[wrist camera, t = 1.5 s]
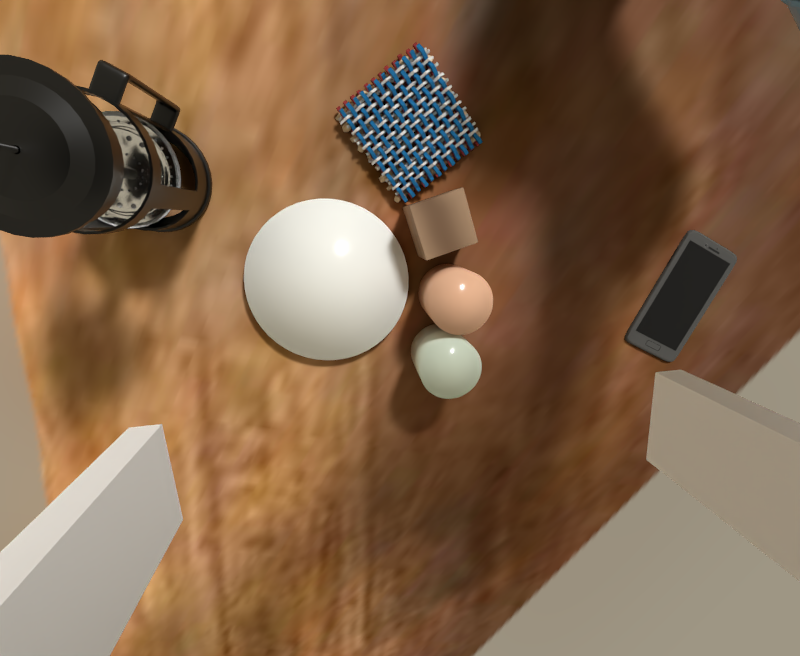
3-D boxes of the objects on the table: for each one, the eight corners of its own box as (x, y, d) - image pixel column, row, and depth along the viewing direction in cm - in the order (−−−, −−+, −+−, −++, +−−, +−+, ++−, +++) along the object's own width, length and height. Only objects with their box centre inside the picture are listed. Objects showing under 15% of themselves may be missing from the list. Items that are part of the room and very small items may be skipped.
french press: (187, 255, 40) (-5, 302, 18) (84, 208, 38) (-276, 196, 16) (235, 138, 38) (84, 31, 16) (129, 82, 36) (-211, -131, 14)
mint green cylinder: (464, 321, 45) (481, 336, 40) (465, 373, 47) (481, 395, 41) (409, 326, 45) (418, 342, 39) (412, 378, 46) (421, 401, 41)
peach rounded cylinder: (473, 261, 44) (492, 268, 38) (474, 317, 45) (493, 331, 40) (416, 265, 43) (427, 273, 37) (419, 322, 45) (430, 337, 39)
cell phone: (620, 338, 49) (624, 340, 48) (686, 227, 46) (692, 227, 45) (667, 362, 50) (672, 364, 49) (734, 255, 48) (740, 256, 47)
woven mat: (418, 40, 38) (422, 31, 37) (482, 141, 41) (489, 137, 39) (329, 114, 39) (328, 108, 37) (398, 208, 42) (401, 208, 40)
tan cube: (449, 190, 42) (463, 187, 37) (463, 239, 43) (478, 242, 38) (402, 207, 42) (409, 206, 37) (417, 255, 43) (426, 260, 38)
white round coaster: (402, 194, 41) (403, 193, 40) (411, 349, 45) (412, 352, 44) (233, 204, 40) (231, 203, 39) (259, 364, 44) (257, 367, 43)
